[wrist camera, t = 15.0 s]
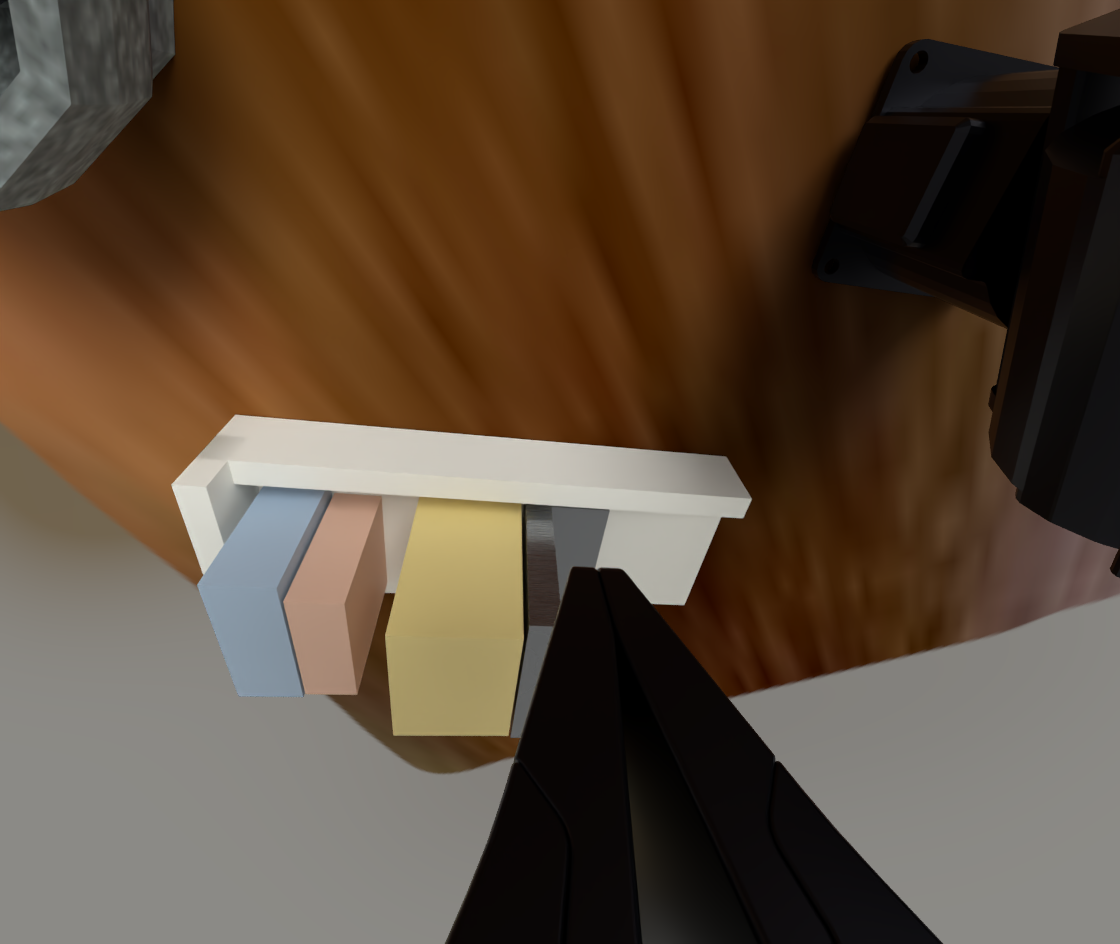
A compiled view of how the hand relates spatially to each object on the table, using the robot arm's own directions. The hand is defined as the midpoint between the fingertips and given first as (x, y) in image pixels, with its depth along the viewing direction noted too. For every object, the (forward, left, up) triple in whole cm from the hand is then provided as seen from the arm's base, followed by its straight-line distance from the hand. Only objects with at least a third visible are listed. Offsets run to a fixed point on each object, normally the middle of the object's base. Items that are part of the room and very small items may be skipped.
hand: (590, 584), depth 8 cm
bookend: (-2, +10, -11) cm, 14 cm away
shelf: (+1, +9, -12) cm, 15 cm away
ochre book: (+2, +9, -11) cm, 15 cm away
